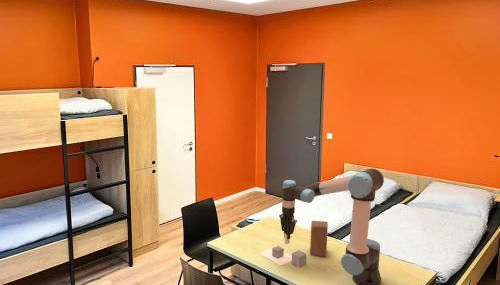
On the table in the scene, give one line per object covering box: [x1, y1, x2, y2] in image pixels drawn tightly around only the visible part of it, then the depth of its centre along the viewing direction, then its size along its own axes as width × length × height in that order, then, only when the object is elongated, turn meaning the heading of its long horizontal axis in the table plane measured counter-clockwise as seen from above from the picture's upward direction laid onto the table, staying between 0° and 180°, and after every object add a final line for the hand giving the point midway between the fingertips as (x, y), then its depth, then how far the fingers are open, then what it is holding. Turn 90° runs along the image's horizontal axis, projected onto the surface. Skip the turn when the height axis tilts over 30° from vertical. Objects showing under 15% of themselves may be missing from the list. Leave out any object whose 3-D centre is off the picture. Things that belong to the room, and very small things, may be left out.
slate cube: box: [291, 249, 307, 268], centre depth 229 cm, size 6×6×7 cm
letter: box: [258, 247, 292, 266], centre depth 239 cm, size 20×14×1 cm
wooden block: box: [309, 220, 329, 258], centre depth 242 cm, size 10×10×20 cm
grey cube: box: [272, 245, 285, 258], centre depth 239 cm, size 5×5×5 cm
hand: (286, 243), depth 231 cm, fingers closed
